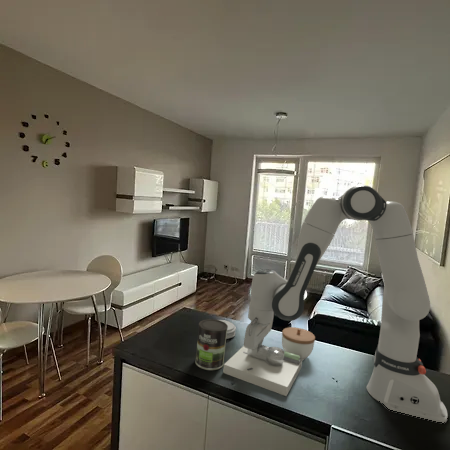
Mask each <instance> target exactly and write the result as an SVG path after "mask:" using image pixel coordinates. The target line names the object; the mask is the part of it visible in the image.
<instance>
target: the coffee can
mask: <svg viewBox="0 0 450 450" xmlns="http://www.w3.org/2000/svg"><path fill="white" fill-rule="evenodd" d="M219 320H220V319H213V318H212V319H211V318H207V319H206V318H205V319H202V320H201V321H199V323H198V333H197V340H196V341H197V343H196V353H195V362H194V363H195V365H196V366H197V367H198V368H200V369H202V370H206V371H216V370H217V371H218V370H220V369H221V368H223V367H224V364H225V362H224V361H225V352H226V342H227V339H226V335H227V328H228V326H227V324H226V323H224V322H222V321H219Z"/></svg>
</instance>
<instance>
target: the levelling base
mask: <svg viewBox="0 0 450 450" xmlns="http://www.w3.org/2000/svg"><path fill="white" fill-rule="evenodd" d="M247 352H248V349H247V348H245V347H244V345H242V346H241V348H240V349H238V350H237V352H236V353H234V354H233V355H232V356H231V357H230V358H229V359H228V360H227V361H226V362H224V364H223V371H222V373H223V374H225V375H228V376H231V377H234V378H237V379H239V380H241V381H243V382H244V381H245V382H247V383H249V384H251V385H252V384H253V385H255V386H257V387H260V388H263V389H266V390H267V391H271V392H273V393H277V394H279V395H281V396H285V397H287V395H288V394H289V392H290V391H291V388H292V386H293V385H294V383H295V381H296V379H297V377H298V375H299V374H300V372H301V369H302V365H303V360H301V358H300V356H299V355H295V354H292V353H289V352H286V351H284V352H285V353H284V361H283V365H282V366H272V365H270V364H268V363H267V362H266V361H265V360H262V359H259V358H256V357H253V356H250V355H247Z"/></svg>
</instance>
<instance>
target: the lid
mask: <svg viewBox="0 0 450 450" xmlns="http://www.w3.org/2000/svg"><path fill="white" fill-rule="evenodd" d="M218 320H219V321H222V322H224V323H226V324H227V326H228V328H227V335H226V340H227V339H231V338H234V337H235V335H236V331H237V327H236V325H235V324H234V323H232V321H228V320H224V319H218Z"/></svg>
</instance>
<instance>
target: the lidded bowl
mask: <svg viewBox="0 0 450 450" xmlns="http://www.w3.org/2000/svg"><path fill="white" fill-rule="evenodd" d="M315 340H316V336H315V334H313V332H311V331H309V330H307V329H304V328H301V327H293V326H291V327H290V326H288V327H285V328H283V330H282V332H281V345H282V350H284V351H286V352H289V353H292V354H295V355H299V356H300V358H301V360H302V361H304V360H306V359H307V358H308V357H309V356H310V355H311V354H312V352H313V350H314V345H315Z"/></svg>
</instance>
